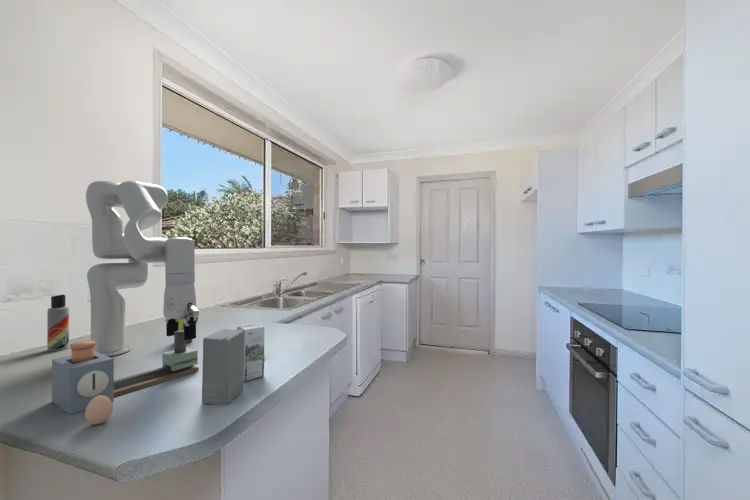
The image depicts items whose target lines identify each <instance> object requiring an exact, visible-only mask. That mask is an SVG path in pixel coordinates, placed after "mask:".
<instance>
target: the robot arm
mask: <svg viewBox="0 0 750 500" xmlns="http://www.w3.org/2000/svg"><path fill="white" fill-rule="evenodd" d="M85 202H86V206H87V208H88V211H89V214H90V217H91V238H92V239H91V243H92V252H93V255H94V257H96V258H98V259H101V260H102V259H103V260H122V259H123V260H127V261H128V262H103V263H98V264H94V265H92V266H90V268H89V269H88V271H87V274H86V281H87V283H88V290H89V295H90V298H89V299H90V341H96V345H95V346H94V351H96V352H98V353H101V354H103V355H106V356H108V357H113V356H117V355H123V354H125V353H128V352H130V351H131V345H129V344H126V301H125V298H124V297H123V296H122V294H121V293H120V292H119V291H118V290H123V289H134V288H140V287H143V286H145V284H146V283H147V280H148V275H149V274H148V273H149V272H148V270H149V269H148V264H149V263H150V264H151V263H152V264H156V263H163V264H165V266H164V267H165V268H164V269H165V271H164V272H165V273H164V274H165V288H164V294H163V308H162V309H163V311H162V312H163V316H164V318H165V325H166V326H165V328H166V331H165V332H166V335H165V336H166V337H174V332H175V331H178V321H177V320H180V319H183V321H184V323H185V326H184V340H191V339H192V340H195V339H197V325H198V320H199V314H200V310H199V309H198V308H197V298H196V297H197V296H196V288H195V284H196V277H195V276H196V275H195V274H196V272H195V271H196V270H195V265H196V264H195V263H196V262H195V260H196V259H195V241H194V239H192V238H190V237H155V236H154V237H151V236H150V237H149V236H147V237H146V236H144V235H143V234H142V232H141V231H143V230H147V229H150V228H153V227H154V226H156V225H157V224H158V223H159V222H160V221H161V219H162V213H161V211H160V210H162V209H164V208H166V206H167V205H168V202H169V195H168V193H167V191H166V189H165V188H164V187H163V186H161V185H158V184H154V183H153V184H152V183H147V182H144V181H143V182H141V181H136V180H134V181H133V180H128V181H127V180H126V181H122V182H115V181H111V180H109V181H108V180H95V181H92V182H91V183H89V184H88V186H87V188H86V193H85ZM114 207H116V208H122V209H124V211H125V214H126V215H127V217H128V218H129V220H128V221H127V223H126V225H125V228H124V230H123V227H124V226H123V222H124V221H123V219H122V217H121V215H120V214H119V213H118V212H117V211H116V209H115V208H114ZM188 319H189V321H188Z"/></svg>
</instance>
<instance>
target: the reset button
mask: <svg viewBox="0 0 750 500" xmlns="http://www.w3.org/2000/svg"><path fill="white" fill-rule="evenodd" d="M95 345H96V341H91V340H81V341H76V342H73V343H70V344H69V349H70V350H71V355H72V364H75V363H80V362H84V361H89V360H93V359H94V346H95Z"/></svg>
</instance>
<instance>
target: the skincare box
mask: <svg viewBox="0 0 750 500" xmlns="http://www.w3.org/2000/svg"><path fill="white" fill-rule="evenodd" d="M244 337H245V331H243V330H237V329H229V328H228V329H227V328H222V329H220V330H217V331H216V332H213V333H212V334H209V335H207V336H205V337H203V338H202V339H203V340H202V374H201V375H202V379H201V381H202V383H201V403H202V404H203V405H204V404H205V405H215V406H216V405H219V406H227V405H229V403H230V402H231V401H233V400H235V398H236V397H237V396H238V395H240V393H241V392H243V391H244V381H243V370H244Z"/></svg>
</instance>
